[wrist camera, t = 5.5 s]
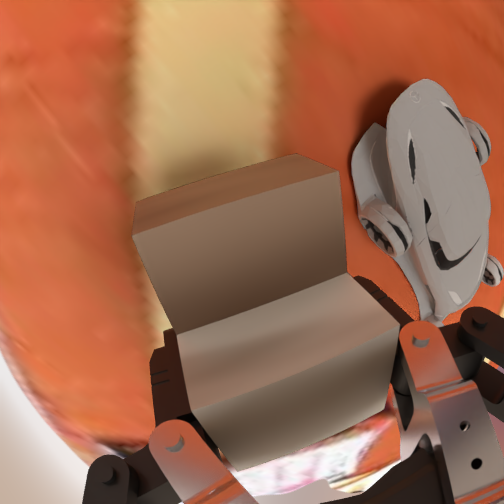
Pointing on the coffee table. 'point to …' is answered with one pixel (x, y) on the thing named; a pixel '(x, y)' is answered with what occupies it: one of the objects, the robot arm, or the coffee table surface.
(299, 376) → the chock
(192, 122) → the coffee table surface
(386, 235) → the car model
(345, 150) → the coffee table surface
